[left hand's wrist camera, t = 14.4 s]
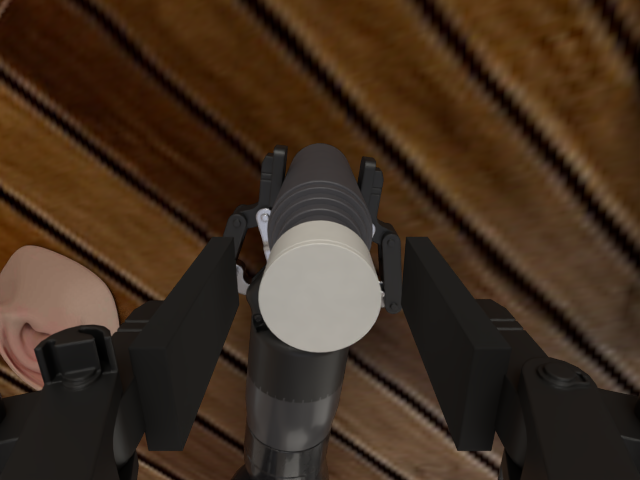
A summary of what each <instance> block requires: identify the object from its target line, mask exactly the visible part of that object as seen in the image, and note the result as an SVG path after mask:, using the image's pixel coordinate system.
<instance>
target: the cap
mask: <svg viewBox="0 0 640 480" xmlns="http://www.w3.org/2000/svg"><path fill="white" fill-rule="evenodd" d="M381 295H382V294H381V287H380V284H379V280H378V277H377V274H376V271H375V268H374V265H373V262H372V258H371V255H370V252H369V250H368V248H367V246H366V245H365V243H364V242H363V240H362V239H361V238H360V237H359V236H358V235H357V234H356V233H355V232H353V231H352V230H350V229H349V228H347V227H345V226H343V225H341V224H338V223H335V222H330V221H321V220H320V221H310V222H305V223H302V224H299V225H297V226H295V227H293V228H291V229H289V230H288V231H286V232H285V233H284V234H283V235H282V236H281V237H280V238H279V239H278V240H277V242H276V243H275V244H274V246H273V248H272V250H271V252H270V255H269V258H268V261H267V264H266V268H265V271H264V274H263V277H262V280H261V283H260V287H259V294H258V301H259V308H260V312H261V315H262V317H263V320H264V321H265V323H266V325H267V326H268V328H269V329H270V330H271V331H272V333H273V334H275V335H276V336H277V337H278V338H279V339H280V340H282V341H283V342H285V343H286V344H288V345H290V346H292V347H295V348H297V349H300V350H304V351H309V352H331V351H336V350H340V349H343V348H345V347H348V346H350V345H352V344H354V343H355V342H357V341H358V340H360V339H361V338H362V337H363V336H364V335H365V334H367V332H368V331H369V330H370V329H371V328H372V326H373V324H374V323H375V321H376V319H377V317H378V315H379V311H380V308H381Z"/></svg>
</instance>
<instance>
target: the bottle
mask: <svg viewBox="0 0 640 480" xmlns="http://www.w3.org/2000/svg"><path fill="white" fill-rule="evenodd" d="M320 220H321V221H330V222H335V223H338V224H341V225H343V226H345V227H347V228H349V229H350V230H352V231H353V232H355V233H356V234H357V235H358V236H359V237H360V238H361V239H362V240H363V242H364V243H365V245H366V246H367V248H368V250H369V251H370V248H371V243H372V235H373V225H372V219H371V215H370V213H369V210H368V208H367V206H366V203H365V201H364V199H363V196H362V194H361V192H360V189H359V187H358V184H357V182H356V180H355V177H354V175H353V173H352V170H351V168H350V166H349V163H348V161H347V159H346V157H345V156H344V155H343V153H342V152H341V151H339V150H338V149H337V148H335V147H333V146H331V145H328V144H312V145H309V146H307V147H305V148H303V149H302V150H301V151H299V152H298V153H297V154H296V156H295V157H294V159H293V161H292V163H291V165H290V168H289V170H288V172H287V175H286V177H285V179H284V182H283V184H282V186H281V189H280V191H279V194H278V196H277V198H276V201H275V203H274V205H273V208H272V210H271V213H270V215H269V219H268V224H267V236H268V244H269V249H270V252H271V250H272V248H273V246H274V244H275V243H276V242H277V240H278V239H279V238H280V237H281V236H282V235H283V234H284V233H285V232H286V231H288V230H289V229H291V228H293V227H295V226H297V225H299V224H302V223H305V222H310V221H320Z"/></svg>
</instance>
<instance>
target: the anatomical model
mask: <svg viewBox="0 0 640 480" xmlns="http://www.w3.org/2000/svg"><path fill="white" fill-rule="evenodd" d="M92 324H95V325H101V326H105V327H106V328H107V329H109V330H110V332H111V336H112V335H113V334H114V333H115V332H117V329H118V328H119V319H118V314H117V309H116V305H115V302H114V299H113V296H112V294H111V292H110V290H109V288H108V287H107V286H106V284H105V283H104V282H103V281H102V280H101V279H100V278H99V277H98V276H97V275H95V274H94V273H93V272H91V271H90V270H89V269H87V268H86V267H84V266H82V265H81V264H79V263H77V262H75V261H73V260H71V259H69V258H67V257H65V256H63V255H61V254H58V253H56V252H54V251H51V250H48V249H45V248H42V247H38V246H24V247H21V248H20V249H18V250H17V251H16V252H15V253H14V254H13V255H12V256H11V258H10V259H9V261H8V262H7V264H6V265H5V267H4V269H3V270H2V272H1V274H0V354H1V355H2V357H3V358H4V360H5V361H6V362H7V364H8V365H9V366H10V368H11V369H12V370H13V371H14V372H15V373H16V374H17V375H18V376H19V377H20V378H21V379H22V380H23V381H24V382H26V383H27V384H29V385H30V386H32V387H33V388H35V389H36V390H38V391H39V390H42V388H43V386H44V382H43V379H42V375H41V372H40V369H39V365H38V362H37V359H36V355H35V352H34V348H35V347H36V346H37V345H38V344H39V343H40V342H41V341H42V340H44V339H46V338H47V337H49V336H51V335H52V334H54V333H57V332H59V331H62V330H64V329H67V328H71V327H75V326H80V325H92Z"/></svg>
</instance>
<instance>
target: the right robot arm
mask: <svg viewBox="0 0 640 480" xmlns="http://www.w3.org/2000/svg"><path fill="white" fill-rule="evenodd" d="M287 150H288V146H283V145H276V146H275V148H274V153H268V154H267V155H266V157H265V159H264V161H263V163H262V170H261V182H260V195H259V202H257V203H255V204H252V205H239V206H238V207H237V208H236V209H235V211H234V213H233V214H232V215H231V216H230V217H229V219H228V222H227V225H226V228H225V231H224V235H223V237H234V246H235V258H236V270H237V283H238V293H240V294H244V295H246V298H247V301H248V303H249V305H250V307H251V311H252V319H251V331H250V343H249V356H248V368H247V381H246V407H247V419H246V430H245V443H244V461H245V464H244V465H243V466H242V467H240V468H239V469H238V470H237V472H236V473H235V474H234V476H233V477H232V479H231V480H329V473H328V466H327V461H326V453H327V447H328V442H329V436H330V431H331V426H332V422H333V419H334V417H335V414H336V411H337V408H338V404H339V399H340V394H341V389H342V383H343V378H344V373H345V367H346V362H347V356H348V351H349V346H348V347H345V348H343V349H340V350H336V351H331V352H309V351H304V350H300V349H297V348H295V347H292V346H290V345H288V344H286V343H285V342H283V341H282V340H280V339H279V338H278V337H277V336H276V335H275V334H273V333H272V331H271V330H270V329H269V328H268V326H267V325H266V323H265V321H264V320H263V317H262V315H261V312H260V308H259V301H258V294H259V287H260V283H261V280H262V277H263V274H264V271H265V268H266V265H265V266H264V267H263V268H262V269H261V270H260V271H259V272H258V273H257V274H256V275H255V276H254V277H253V278H252V279H250V278H249V277H248V276H247V275H246V273H245V269H246V266H245V264H244V262H243V261H241V260H239V259H238V256H239V253H240V250H241V247H242V244H243V241H244V238H245V235H246V232H247V229H248V228H252V227H257V226H258V227H259V230H260V233H261V237H262V240H263V245H264V253H265V256H266V259H267V261H268V258H269V255H270V249H269V244H268V236H267V224H268V219H269V215H270V213H271V210H272V208H273V205H274V203H275V201H276V198H277V196H278V194H279V191H280V189H281V186H282V184H283V182H284V179H285V170H286V160H287ZM383 180H384V179H383V174H382V171H381V170H380V169H379V168H377V167H376V161H375V159H374V158H371V157H362V160H361V165H360V171H359V177H358V183H357V184H358V187H359V189H360V192H361V194H362V196H363V199H364V201H365V203H366V206H367V208H368V210H369V213H370V215H371V219H372V225H373V235H372V241H373V242H375V243H377V244H378V257H379V276H377V277H378V280H379V284H380V287H381V294H382V295H381V307H385V308H386V311H387V312H389V313H391V314H395V313H398V312H399V311H401V309H402V306H401V295H402V275H401V243H400V239H399V237H398V235H397V233H396V231H395V229H394V228H393V226H392V225H391V224H389V223H384V222H382V221H380V220H378V219H377V212H378V207H379V201H380V196H381V191H382V186H383Z"/></svg>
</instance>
